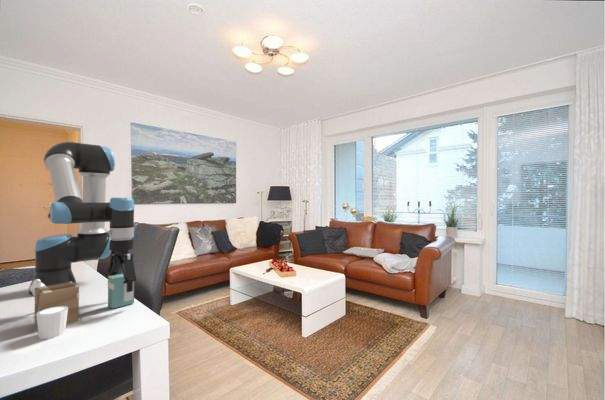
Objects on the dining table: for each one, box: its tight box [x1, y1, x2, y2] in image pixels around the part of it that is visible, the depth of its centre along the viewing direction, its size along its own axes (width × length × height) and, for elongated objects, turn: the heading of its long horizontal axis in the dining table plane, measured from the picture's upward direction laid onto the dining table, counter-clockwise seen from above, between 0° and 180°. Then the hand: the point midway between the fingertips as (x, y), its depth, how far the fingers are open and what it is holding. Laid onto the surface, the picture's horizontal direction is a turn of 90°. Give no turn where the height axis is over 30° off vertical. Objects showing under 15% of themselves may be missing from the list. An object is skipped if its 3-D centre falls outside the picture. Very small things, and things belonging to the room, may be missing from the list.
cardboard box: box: [34, 281, 80, 329], centre depth 86 cm, size 9×9×11 cm
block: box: [107, 273, 135, 309], centre depth 101 cm, size 5×7×11 cm, turn 142°
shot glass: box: [36, 306, 68, 340], centre depth 79 cm, size 7×7×7 cm
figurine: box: [29, 279, 45, 317], centre depth 92 cm, size 7×4×12 cm, turn 45°
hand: (121, 296), depth 101 cm, fingers open, 13 cm apart
